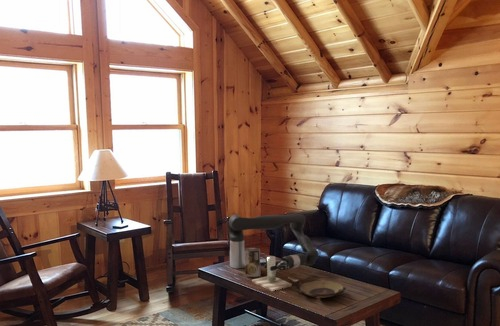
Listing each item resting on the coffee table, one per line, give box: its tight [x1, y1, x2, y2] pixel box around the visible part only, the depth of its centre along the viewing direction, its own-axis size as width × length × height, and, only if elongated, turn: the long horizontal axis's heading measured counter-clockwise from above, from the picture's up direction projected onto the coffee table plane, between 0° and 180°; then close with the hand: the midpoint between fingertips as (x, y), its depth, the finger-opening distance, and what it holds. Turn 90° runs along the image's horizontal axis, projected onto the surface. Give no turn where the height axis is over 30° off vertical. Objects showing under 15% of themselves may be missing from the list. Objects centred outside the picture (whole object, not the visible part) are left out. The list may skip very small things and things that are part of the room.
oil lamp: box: [287, 276, 347, 299], centre depth 230 cm, size 22×30×8 cm
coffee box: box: [244, 247, 261, 278], centre depth 262 cm, size 9×6×16 cm
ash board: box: [251, 275, 293, 292], centre depth 247 cm, size 19×14×1 cm
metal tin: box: [266, 255, 277, 281], centre depth 246 cm, size 5×5×13 cm
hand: (267, 267), depth 244 cm, fingers closed on metal tin, 5 cm apart
